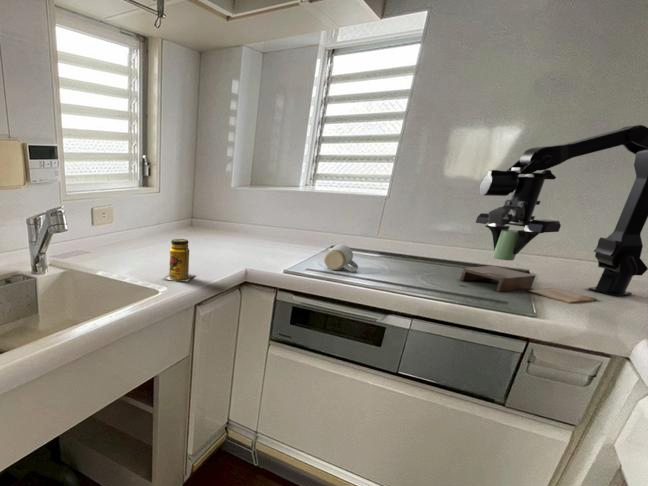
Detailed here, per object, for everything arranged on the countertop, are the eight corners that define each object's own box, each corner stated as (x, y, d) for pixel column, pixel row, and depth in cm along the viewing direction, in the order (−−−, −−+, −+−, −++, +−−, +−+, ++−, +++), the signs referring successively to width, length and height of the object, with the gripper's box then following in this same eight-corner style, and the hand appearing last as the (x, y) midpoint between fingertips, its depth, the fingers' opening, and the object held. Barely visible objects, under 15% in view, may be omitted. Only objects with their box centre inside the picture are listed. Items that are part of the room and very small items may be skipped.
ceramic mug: (320, 268, 138) (325, 246, 134) (327, 264, 143) (332, 242, 140) (354, 274, 132) (359, 251, 128) (360, 269, 137) (365, 247, 134)
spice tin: (500, 256, 121) (510, 229, 118) (518, 259, 116) (528, 232, 113) (487, 257, 120) (497, 229, 117) (505, 260, 115) (515, 232, 112)
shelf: (489, 277, 128) (493, 265, 126) (530, 288, 117) (535, 275, 116) (459, 280, 125) (463, 267, 124) (499, 291, 114) (504, 278, 113)
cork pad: (553, 289, 117) (554, 287, 117) (596, 300, 108) (597, 298, 108) (527, 291, 115) (528, 290, 114) (569, 303, 106) (570, 301, 105)
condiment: (164, 279, 125) (165, 241, 120) (173, 273, 132) (174, 236, 128) (187, 282, 123) (188, 242, 118) (194, 275, 130) (196, 238, 125)
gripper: (469, 194, 118) (453, 247, 124) (540, 200, 101) (518, 261, 107) (498, 193, 120) (481, 245, 126) (572, 199, 104) (549, 258, 110)
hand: (505, 252), depth 117 cm, fingers closed on spice tin, 5 cm apart
